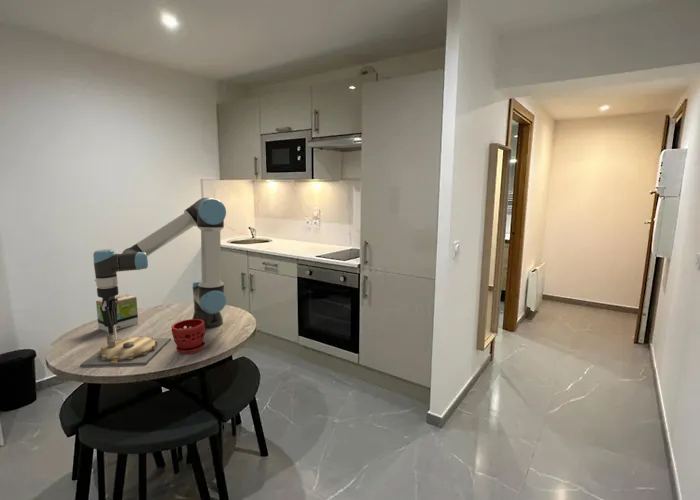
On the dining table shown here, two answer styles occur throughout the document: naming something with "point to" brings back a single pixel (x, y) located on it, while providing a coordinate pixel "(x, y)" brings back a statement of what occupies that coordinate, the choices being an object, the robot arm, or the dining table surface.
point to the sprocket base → (138, 360)
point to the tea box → (121, 312)
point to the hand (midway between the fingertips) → (113, 339)
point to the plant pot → (189, 335)
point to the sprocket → (126, 347)
